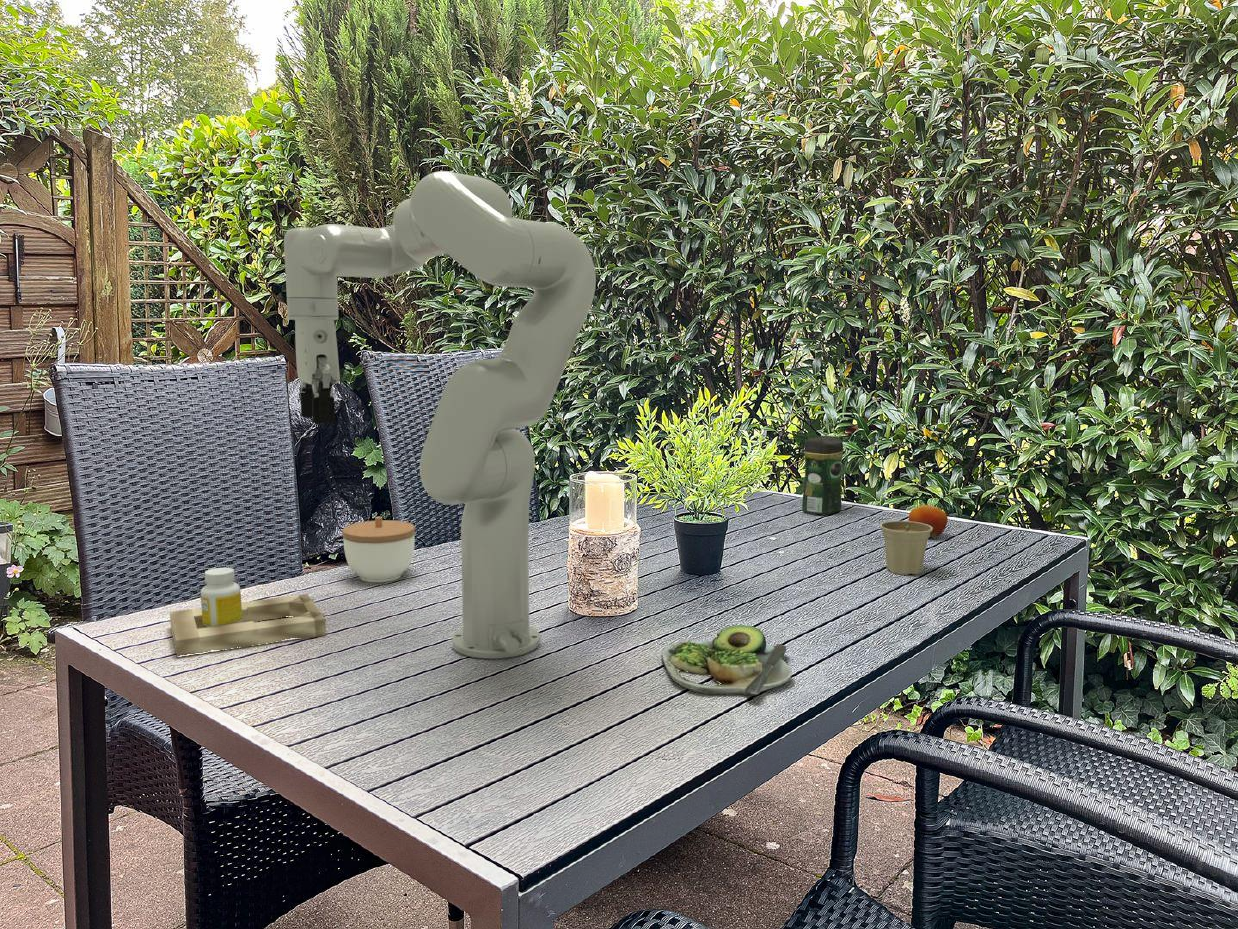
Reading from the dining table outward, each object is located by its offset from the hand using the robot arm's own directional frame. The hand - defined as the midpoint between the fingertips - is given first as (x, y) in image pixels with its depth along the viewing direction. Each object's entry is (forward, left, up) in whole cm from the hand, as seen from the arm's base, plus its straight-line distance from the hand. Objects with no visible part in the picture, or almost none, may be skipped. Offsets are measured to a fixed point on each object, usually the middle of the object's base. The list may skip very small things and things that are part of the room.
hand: (317, 420), depth 148 cm
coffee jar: (+20, -121, -31) cm, 126 cm away
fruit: (-10, -125, -31) cm, 129 cm away
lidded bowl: (+12, -12, -31) cm, 35 cm away
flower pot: (-28, -100, -31) cm, 108 cm away
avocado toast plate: (-53, -42, -31) cm, 75 cm away
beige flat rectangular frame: (-8, +13, -30) cm, 34 cm away
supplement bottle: (-8, +16, -31) cm, 36 cm away
